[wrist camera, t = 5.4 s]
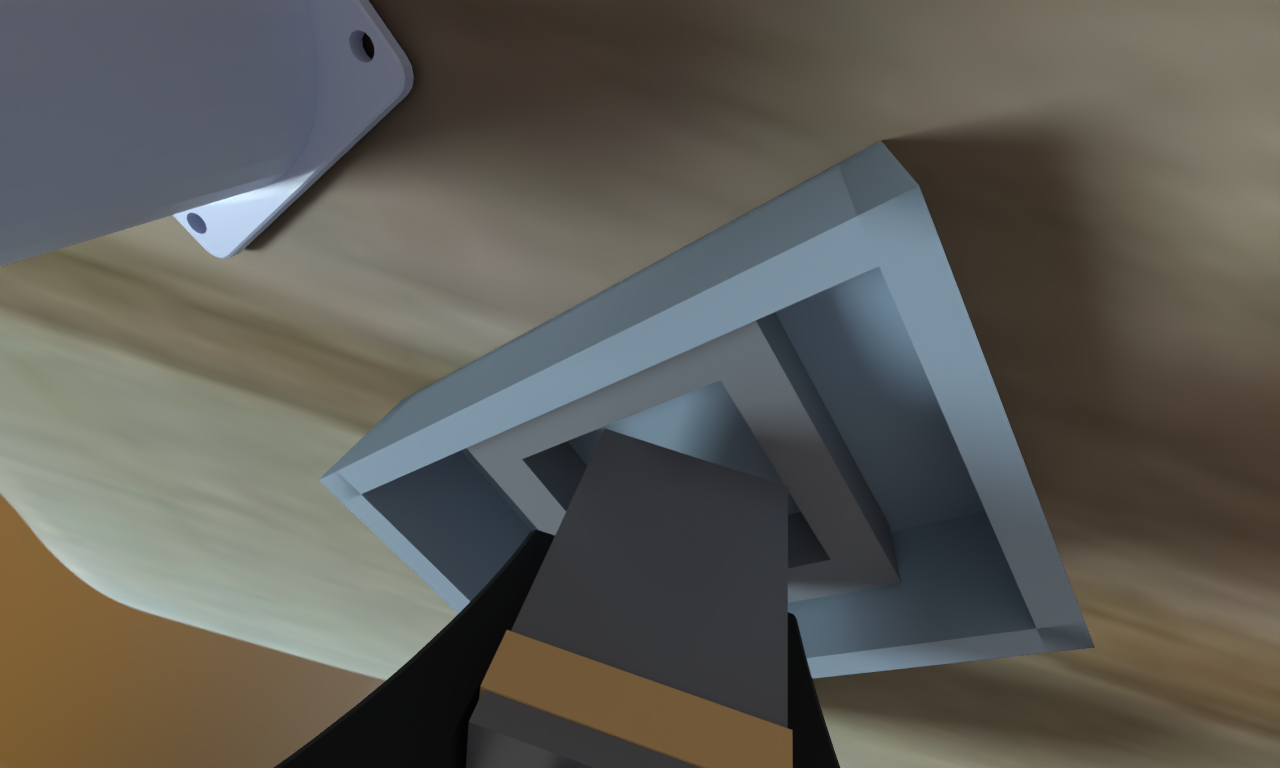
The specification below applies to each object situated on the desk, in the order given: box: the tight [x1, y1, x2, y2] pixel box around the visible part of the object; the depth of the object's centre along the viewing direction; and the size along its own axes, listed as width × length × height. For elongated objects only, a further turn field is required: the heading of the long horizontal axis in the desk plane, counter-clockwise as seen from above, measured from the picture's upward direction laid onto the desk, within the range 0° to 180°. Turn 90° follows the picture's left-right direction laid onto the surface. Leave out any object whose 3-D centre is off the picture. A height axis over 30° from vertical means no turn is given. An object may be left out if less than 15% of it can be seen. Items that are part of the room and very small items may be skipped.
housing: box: [319, 141, 1094, 679], centre depth 13 cm, size 10×14×4 cm
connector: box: [466, 429, 793, 768], centre depth 10 cm, size 4×4×7 cm
